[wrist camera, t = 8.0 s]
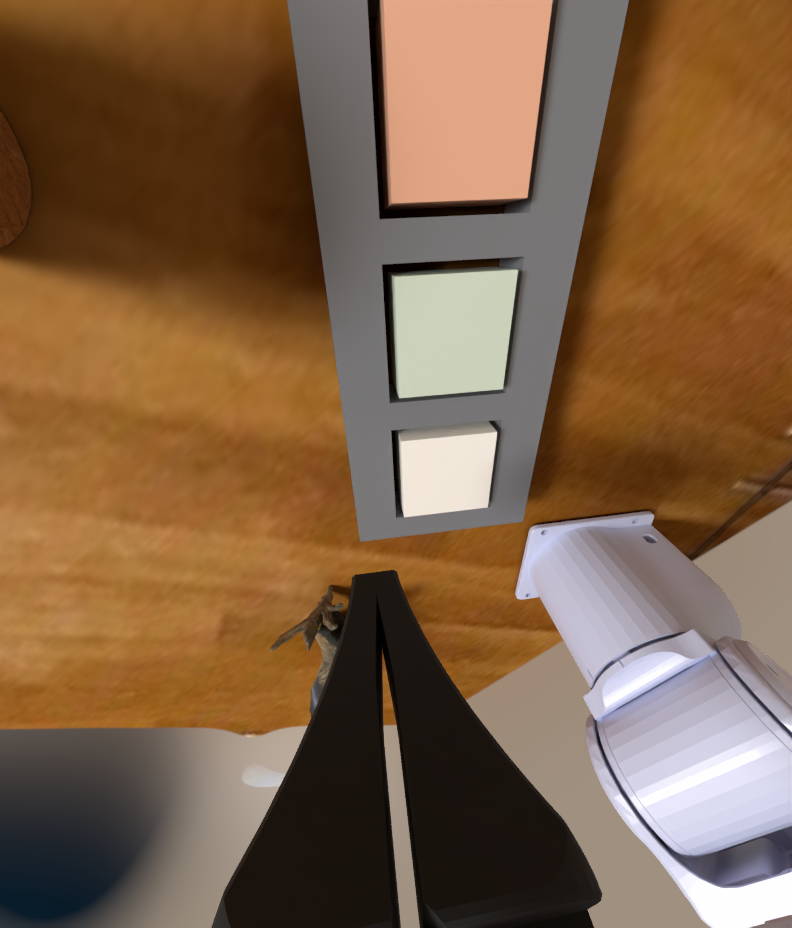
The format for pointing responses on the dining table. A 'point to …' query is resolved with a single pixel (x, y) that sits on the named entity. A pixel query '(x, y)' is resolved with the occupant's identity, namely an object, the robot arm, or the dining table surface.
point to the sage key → (450, 329)
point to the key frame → (447, 249)
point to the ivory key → (445, 467)
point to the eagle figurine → (319, 638)
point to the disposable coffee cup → (12, 185)
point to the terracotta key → (459, 99)
